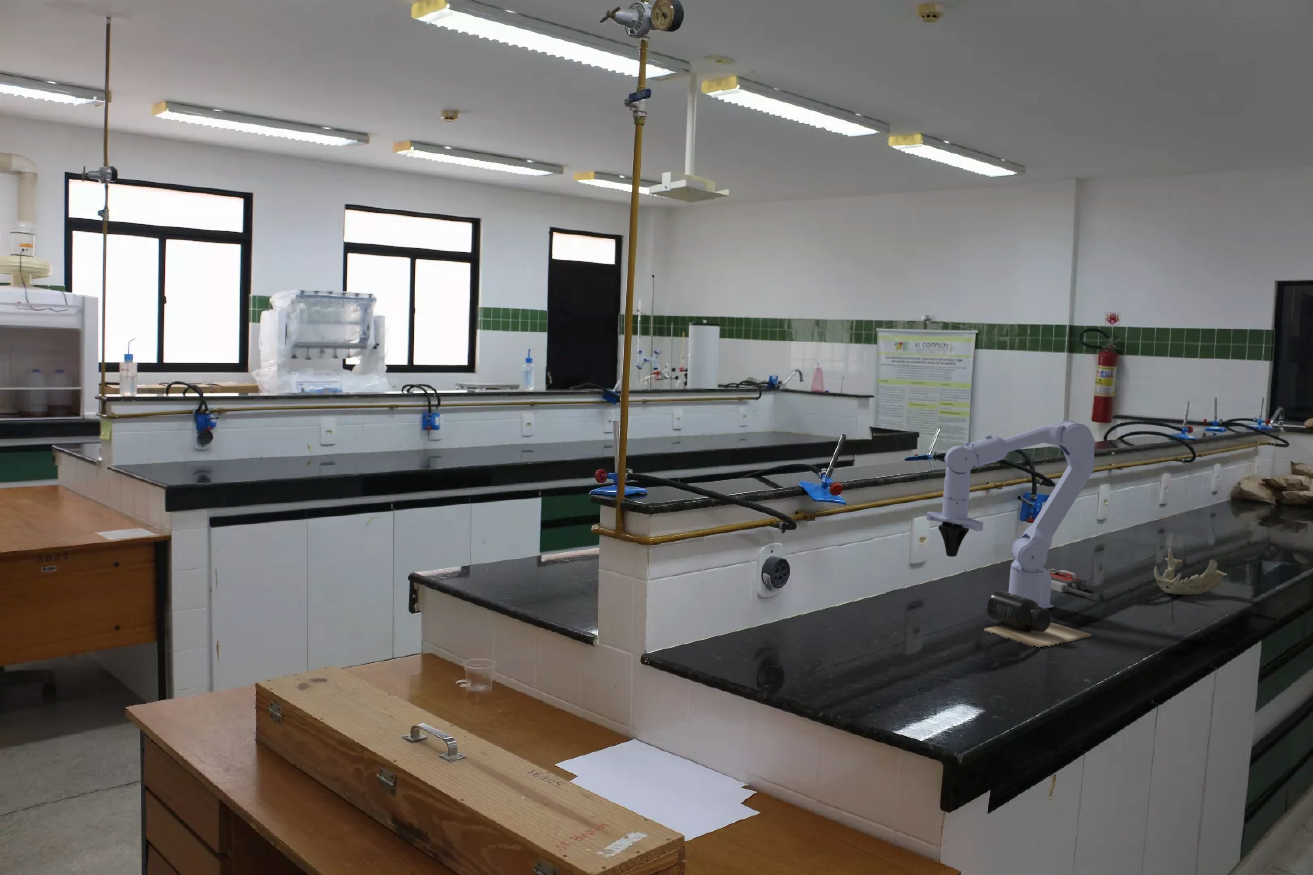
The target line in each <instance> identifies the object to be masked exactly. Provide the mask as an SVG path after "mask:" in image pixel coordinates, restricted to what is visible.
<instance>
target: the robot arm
mask: <svg viewBox="0 0 1313 875" xmlns="http://www.w3.org/2000/svg"><path fill="white" fill-rule="evenodd" d="M1040 444H1048V445H1051V446H1052V445H1053V446H1058V447H1059V448H1060V449H1061V451H1062V452H1063V454H1064V457H1065V460H1066V463H1067V468H1066V469H1065V470H1064V472H1063V474H1062V476H1061V477H1060V478H1059V480H1058V482H1057V483H1056V486H1055V487H1054V488H1053V490H1052V492H1051V493H1050V495H1049V497H1048V498H1047V500H1046V501H1045V503H1044V505H1043V506H1042V508H1041V510H1040V511H1039V513H1038V515H1037V516H1036V518H1035V519H1034V521H1033V522H1032V524H1031V525H1030V526H1028V527H1027V528H1026V529H1025V530H1024V532H1023V533H1022V535H1021V536H1020V535H1019V537H1017V538H1015V539H1014V540H1013V541H1012V543H1011V548H1010V552H1011V556H1012V557H1013V558H1014V560H1013V561H1012V562H1011V563H1010V572H1009V583H1008V584H1009V585H1008V593H1011V594H1015V595H1018V596H1021V597H1025V598H1028V599H1031V600H1034V601H1036V602H1037V603H1038V605H1039V606H1040V607H1042V608H1044V609H1050V608H1053V607H1054V605H1053V604H1051V603H1050V602H1051V593H1052V592H1051V590H1052V589H1051V583H1052V580H1051V576H1050V573H1049V572H1048V571H1047V570H1048V569H1046V568H1045V567H1044V566H1045V565H1046V563H1047V560H1048V552H1049V550H1050V548H1052V541H1053V537H1054V536H1055V533H1056V531H1057V530H1058V529H1059V526H1060V525H1061V523H1062V522H1063V520H1064V519H1065V517H1066V515H1067V514H1068V512H1069V510H1070V509H1071V508H1072V505H1073V504H1074V503H1075V501H1076V500H1077V497H1078V496H1079V495H1080V493H1081V491H1082V490H1083V488H1084V486H1085V485H1086V483H1088V482H1087V481H1088V480H1089V478H1090V477H1091V475H1092V474H1093V472H1094V470H1095V446H1096V440H1095V437H1094V436H1093V434H1092V431H1091V429H1090V428H1089V427H1088V426H1087V425H1086V424H1084V423H1081V422H1077V421H1073V420H1063V421H1061V422H1053V423H1052V422H1051V423H1048V424H1045V425H1044V424H1043V425H1041V426H1038V427H1035V428H1031V429H1029V430H1026V431H1022V432H1019V433H1017V434H1014V435H1011V436H1008V437H1005V438H1002V437H1000V436H997V435H991V434H987V435H984V438H982V439H979V440H975V441H972V442H970V443H969V441H965V442H963V445H964V446H962V445H954V446H952V447H951V448H949V449H948V450H947V451H946V453H945V456H944V458H943V459H944V463H945V465H946V468H945V477H944V481H943V482H944V484H943V485H944V486H943V494H942V509H941V512H937V511H927V512H926V521H930V522H931V521H933V522H938V523H941V525H940V524H939V525H938V527H937V528H938V530H939V532H940V534H941V537H942V540H943V544H944V549H945V554H946V556H947V557H951V558H953V557H957V555H958V552H959V550H960V547H961V544H962V542H963V540H964V538H965V537H966V536H967V534H968V533H969V531H970V530H973V531H976V532H981V531H983V530H984V521H980V520H976V519H973V518H970V517H969V503H970V502H969V501H970V493H971V492H970V491H971V490H970V489H971V479H970V478H971V470H972V469H973V467H975V468H977V467H978V468H979V467H981V466H985V465H989V464H991V463H995V462H999V461H1002V460H1005V458H1006V456H1007V454H1008V453H1009V452H1013V451H1017V450H1021V449H1026V448H1029V447H1032V446H1037V445H1040Z"/></svg>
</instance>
